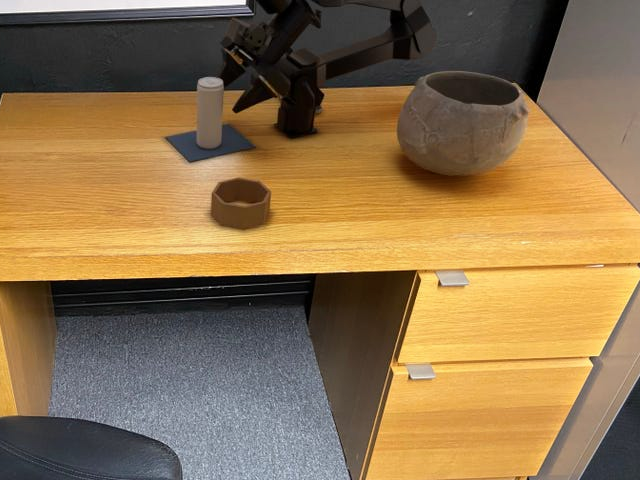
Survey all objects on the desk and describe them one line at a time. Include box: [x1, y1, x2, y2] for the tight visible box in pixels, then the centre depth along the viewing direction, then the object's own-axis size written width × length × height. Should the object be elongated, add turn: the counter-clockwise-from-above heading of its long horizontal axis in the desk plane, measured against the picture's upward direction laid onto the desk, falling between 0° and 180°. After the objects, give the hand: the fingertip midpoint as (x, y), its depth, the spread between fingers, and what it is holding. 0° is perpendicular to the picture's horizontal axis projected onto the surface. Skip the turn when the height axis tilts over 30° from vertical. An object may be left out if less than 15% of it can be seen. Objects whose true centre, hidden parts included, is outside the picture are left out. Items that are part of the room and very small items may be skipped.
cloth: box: [165, 123, 257, 163], centre depth 133 cm, size 14×11×1 cm
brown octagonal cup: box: [210, 177, 272, 230], centre depth 113 cm, size 9×9×4 cm
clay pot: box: [396, 70, 531, 176], centre depth 121 cm, size 21×21×15 cm
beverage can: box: [196, 76, 225, 149], centre depth 128 cm, size 5×5×12 cm
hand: (223, 102), depth 128 cm, fingers open, 9 cm apart
